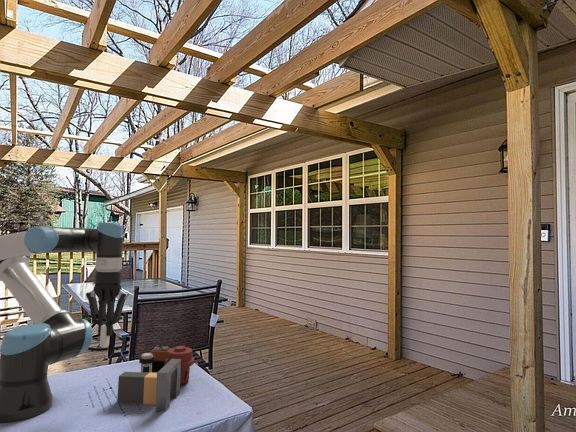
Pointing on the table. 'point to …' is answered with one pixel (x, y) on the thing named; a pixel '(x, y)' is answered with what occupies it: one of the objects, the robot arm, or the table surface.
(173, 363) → the grey piece
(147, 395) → the grey and orange block
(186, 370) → the mechanical component
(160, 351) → the battery
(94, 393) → the table surface
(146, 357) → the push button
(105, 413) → the table surface
